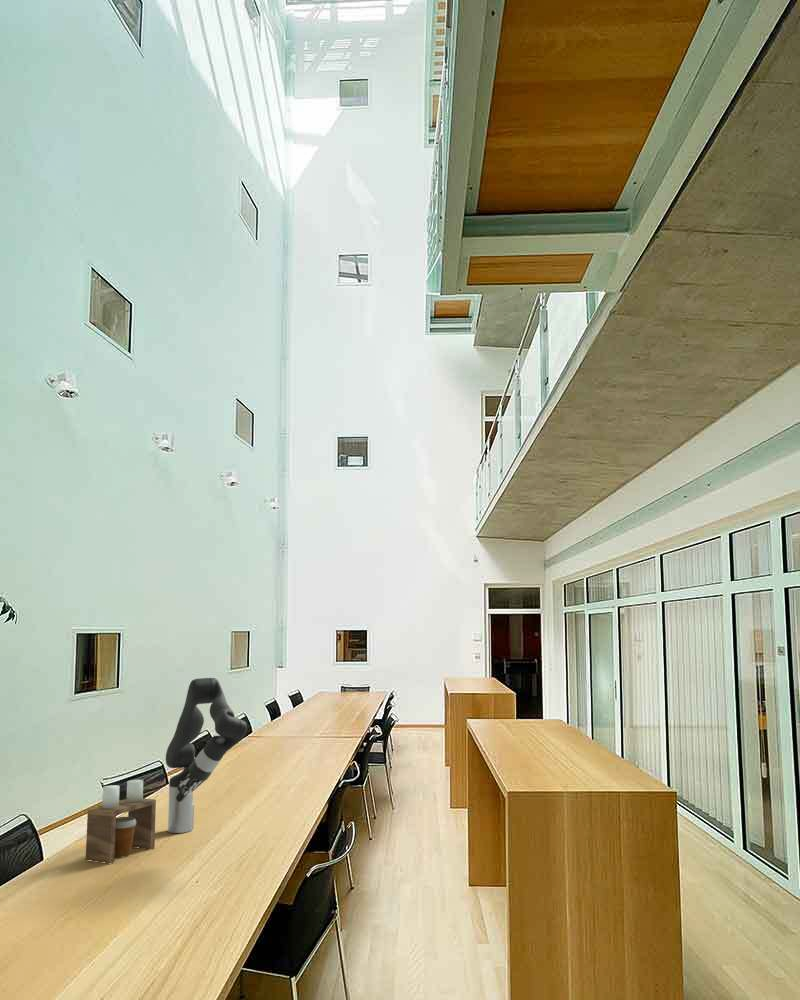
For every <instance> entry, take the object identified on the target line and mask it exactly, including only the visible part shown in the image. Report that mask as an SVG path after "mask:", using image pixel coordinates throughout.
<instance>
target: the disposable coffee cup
mask: <svg viewBox="0 0 800 1000" xmlns="http://www.w3.org/2000/svg"><path fill="white" fill-rule="evenodd" d="M136 823H137V822H136V819H135V818H134V817H128V816H119V817H116V829H115V855H114V856H117V857H116V858H122V857H121V856H125V857H128V856H127V855H129V856H131V855H130V854H132V849H133V847H132V843H133V836H134V830H135V825H136Z"/></svg>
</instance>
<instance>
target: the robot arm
mask: <svg viewBox="0 0 800 1000" xmlns="http://www.w3.org/2000/svg"><path fill="white" fill-rule="evenodd" d="M221 685H222V684H221V683H220V681H219V680H218V679H217V678H215V677H203V678H195V679H192V680H191V682H189V685H188V689H187V693H186V698H185V702H184V705H183V709H182V712H181V715H180V717H179V720H178V721H177V725H176V728H175V733H174V735H173V737H172V739H171V741H170V742H169V744H168V747H167V749H166V753H165V763H166V766H167V767H168V768H171V769H180V768H183V770H181V772H179V773H178V774H176V775H174V776H172V777H170V779H169V781H168V782H169V783H168V784H169V785H168V817H167V819H168V820H167V821H168V822H167V832H168V833H171V834H181V833H182V834H183V833H189V832H191V831H192V830H193V829H195V828H194V825H195V822H194V821H195V818H194V817H195V803H194V801H193V800H194V791H195V790H196V789H197V788H199V786H201V785H202V784H204V783H205V782H206V781H207V780H208V779H209V778H210V776H211V774H212V773H213V772H214V771H215V769H217V766H218V765H219V763H220V761H221V760H222V759H223V757H224V756H225V755H226V753H227V752H228V751H229V750H230V749H232V748H233V747H234V746H236V745H237V744H238V743H240V742H241V741H242V740H243V739H244V737H245V736H246V734H247V732H248V724H247V722H246V721H244V720H243V719H240V718H238V717H235V713H234V711H233V710H232V708H231V707H230V705H229V704H228V703H227V699H226V698H225V693H224V691H223V688H222V686H221ZM204 704H211V705H210V707H209V714H210V717H211V718H212V721H213V722H214V731H215V733H216V734H217V735H213V736H212V737H211V738H210V739H209V740H208V742H207V743H206V744H205V746H204V747H203V748H202V749H201V750H200V751H199V753H198V754H197V756H196V748H195V745H194V744H193V743H192V742H193V741H195V740H196V739H197V738H198V736H199V735H200V734H201V731H202V729H203V725H204V724H205V723H204V722H205V718H204V715H203V713H202V711H201V710H200V708H199V707H198V706H197V705H204Z"/></svg>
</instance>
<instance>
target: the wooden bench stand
mask: <svg viewBox="0 0 800 1000" xmlns="http://www.w3.org/2000/svg"><path fill="white" fill-rule="evenodd" d="M156 804H157V799H154V798H145V797H143V801H141V802H135V803H129V802H127V798H125V799H122V800H121V799H120V800H119V807H118V808H115V809H102V805H98V806H95V807H91V808H87V818H86V819H87V820H86V821H87V822H86V842H85V843H86V846H85V861H86V860H92V861H98V862H105V863H112V864H114V863H115V857H114V855H115V829H116V818H117V816H119V815H121V814H125V813H127V814H128V815H127V817H134V818H135V819H136V822H137V823H136V825H135V830H134V836H133V843H132V848H133V847H139V848H138V849H141V848H145V849H144V850H148V849H151V850H154V849H155V844H156V843H155V840H156V837H155V836H156V834H155V833H156V815H157V814H156V806H157V805H156ZM98 862H97V863H98ZM113 862H114V863H113ZM105 863H104V864H105Z"/></svg>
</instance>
